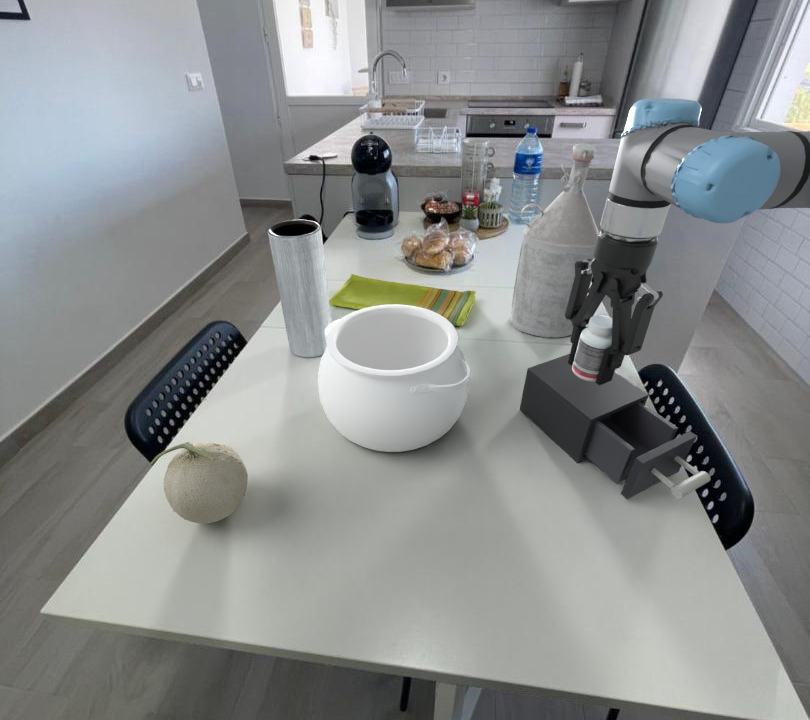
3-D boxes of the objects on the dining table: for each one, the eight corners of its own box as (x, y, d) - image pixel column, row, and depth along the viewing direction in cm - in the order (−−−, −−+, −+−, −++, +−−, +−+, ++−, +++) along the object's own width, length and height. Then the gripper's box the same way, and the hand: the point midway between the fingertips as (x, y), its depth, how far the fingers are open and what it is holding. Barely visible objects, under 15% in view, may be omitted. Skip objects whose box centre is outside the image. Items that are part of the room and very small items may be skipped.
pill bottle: (607, 385, 70) (624, 332, 65) (571, 379, 72) (585, 327, 66) (604, 365, 75) (620, 314, 69) (571, 361, 76) (584, 310, 70)
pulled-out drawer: (709, 495, 66) (731, 459, 61) (656, 526, 62) (675, 490, 57) (610, 418, 79) (622, 384, 75) (561, 440, 75) (571, 405, 71)
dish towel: (463, 329, 106) (464, 317, 104) (328, 307, 115) (326, 296, 114) (476, 300, 118) (477, 289, 116) (352, 282, 127) (351, 271, 125)
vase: (299, 363, 95) (278, 241, 80) (283, 342, 102) (260, 225, 86) (342, 349, 100) (329, 230, 84) (323, 329, 106) (308, 216, 91)
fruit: (186, 481, 70) (154, 410, 61) (260, 476, 70) (239, 405, 62) (161, 542, 61) (120, 469, 53) (246, 536, 62) (219, 463, 53)
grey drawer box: (631, 437, 77) (649, 394, 71) (577, 463, 72) (591, 419, 67) (570, 389, 88) (581, 349, 82) (519, 409, 83) (527, 368, 77)
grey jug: (505, 309, 114) (529, 137, 91) (576, 314, 111) (619, 139, 88) (505, 335, 104) (532, 150, 81) (583, 342, 101) (633, 152, 78)
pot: (288, 417, 82) (272, 342, 72) (380, 351, 99) (377, 283, 89) (414, 494, 68) (414, 414, 58) (496, 402, 85) (507, 328, 75)
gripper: (712, 250, 54) (653, 396, 68) (596, 210, 68) (565, 339, 81) (671, 261, 52) (617, 412, 65) (558, 217, 65) (533, 349, 78)
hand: (589, 371), depth 73 cm, fingers closed on pill bottle, 5 cm apart
